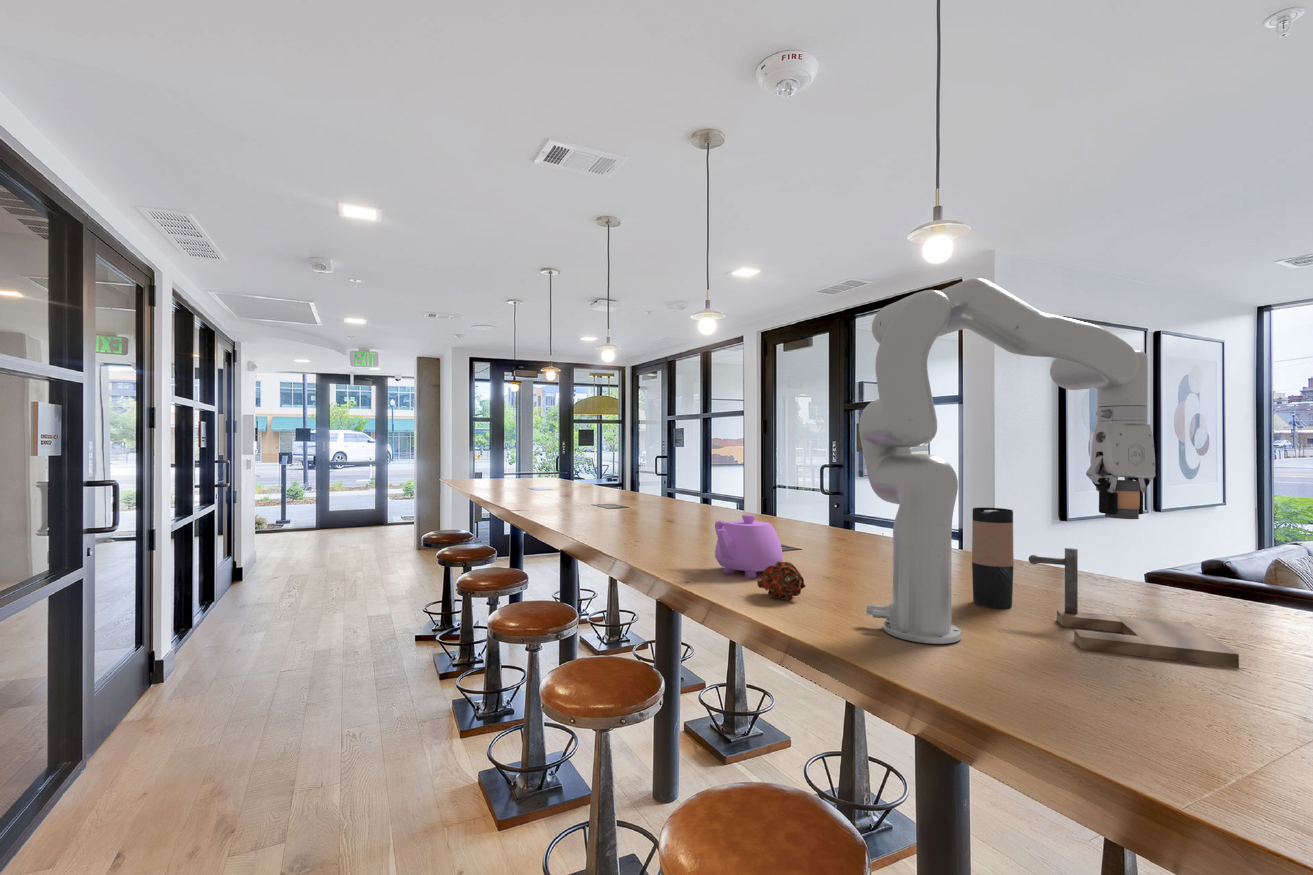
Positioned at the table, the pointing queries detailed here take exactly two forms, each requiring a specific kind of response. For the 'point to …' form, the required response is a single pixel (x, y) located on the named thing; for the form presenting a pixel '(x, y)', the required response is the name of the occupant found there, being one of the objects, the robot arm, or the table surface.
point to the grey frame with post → (1134, 628)
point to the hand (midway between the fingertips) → (1120, 512)
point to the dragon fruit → (782, 580)
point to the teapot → (747, 545)
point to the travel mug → (992, 557)
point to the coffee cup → (1127, 500)
